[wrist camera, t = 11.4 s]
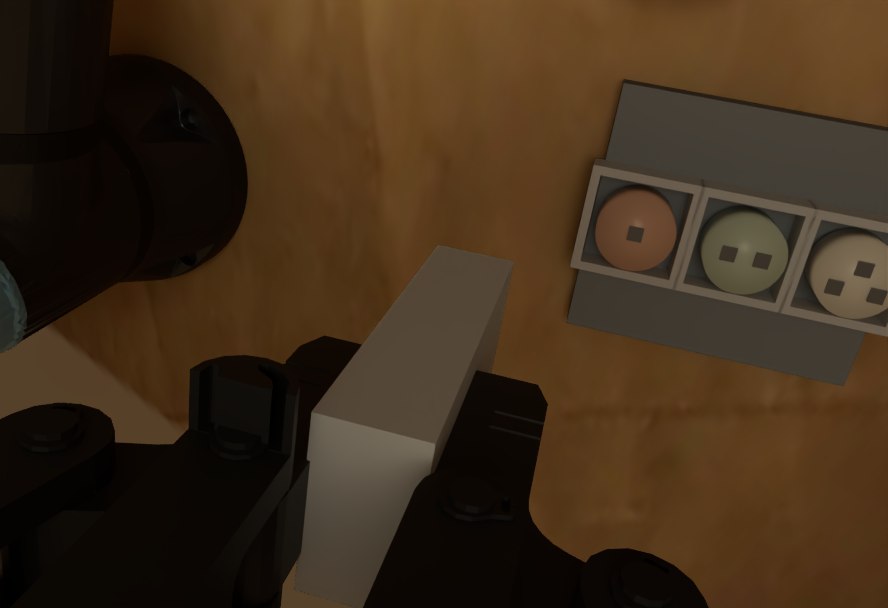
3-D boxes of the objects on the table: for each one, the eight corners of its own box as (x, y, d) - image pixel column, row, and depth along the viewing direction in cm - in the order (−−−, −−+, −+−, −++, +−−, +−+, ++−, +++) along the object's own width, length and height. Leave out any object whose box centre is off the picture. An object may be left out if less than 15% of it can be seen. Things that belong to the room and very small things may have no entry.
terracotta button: (589, 248, 47) (587, 263, 45) (606, 177, 45) (605, 188, 43) (663, 264, 46) (664, 279, 44) (683, 193, 45) (686, 205, 42)
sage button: (690, 270, 46) (693, 286, 44) (711, 199, 44) (716, 211, 42) (766, 286, 46) (773, 303, 43) (790, 215, 44) (800, 228, 41)
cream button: (794, 292, 45) (803, 310, 43) (820, 221, 44) (831, 234, 41) (873, 309, 45) (887, 328, 42) (903, 237, 43) (919, 252, 40)
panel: (559, 308, 52) (554, 332, 48) (613, 77, 46) (612, 84, 42) (845, 373, 49) (862, 404, 45) (942, 137, 43) (971, 151, 39)
